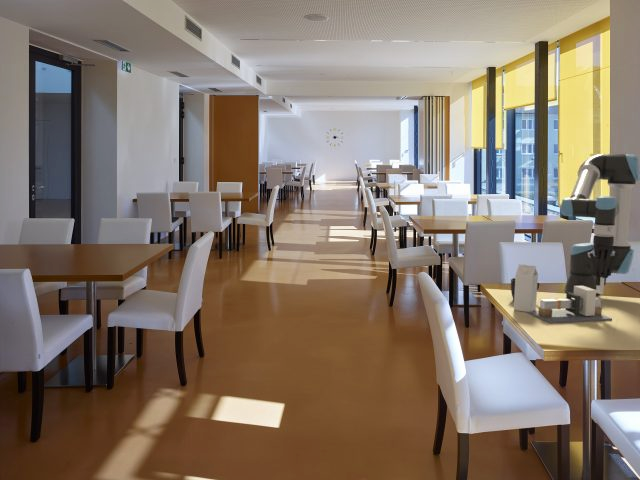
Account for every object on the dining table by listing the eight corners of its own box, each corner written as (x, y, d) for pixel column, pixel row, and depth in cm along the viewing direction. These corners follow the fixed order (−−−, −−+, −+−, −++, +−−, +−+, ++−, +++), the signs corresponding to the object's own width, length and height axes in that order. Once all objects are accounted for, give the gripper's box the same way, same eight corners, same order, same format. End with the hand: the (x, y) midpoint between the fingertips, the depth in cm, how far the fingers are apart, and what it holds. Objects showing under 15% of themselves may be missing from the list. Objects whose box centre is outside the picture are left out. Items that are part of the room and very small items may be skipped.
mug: (536, 304, 296) (537, 283, 295) (508, 301, 302) (509, 280, 300) (539, 301, 303) (541, 279, 302) (512, 298, 309) (513, 277, 307)
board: (587, 310, 286) (587, 309, 286) (612, 320, 270) (612, 318, 270) (528, 313, 280) (529, 311, 280) (550, 323, 265) (550, 321, 264)
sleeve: (581, 310, 281) (582, 285, 280) (594, 315, 272) (596, 290, 271) (572, 310, 280) (574, 285, 279) (585, 315, 272) (587, 290, 270)
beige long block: (593, 312, 280) (594, 296, 279) (601, 315, 275) (602, 299, 275) (538, 314, 275) (539, 298, 274) (545, 317, 270) (546, 301, 269)
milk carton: (519, 307, 291) (521, 263, 288) (535, 309, 287) (538, 264, 284) (513, 310, 285) (515, 265, 283) (530, 312, 281) (533, 267, 279)
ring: (568, 309, 279) (570, 292, 278) (579, 313, 272) (580, 296, 271) (565, 309, 278) (566, 292, 277) (575, 314, 272) (576, 296, 271)
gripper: (595, 236, 269) (590, 295, 272) (624, 236, 271) (619, 294, 275) (583, 234, 276) (579, 291, 279) (612, 233, 279) (608, 290, 282)
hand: (599, 293), depth 277 cm, fingers closed
